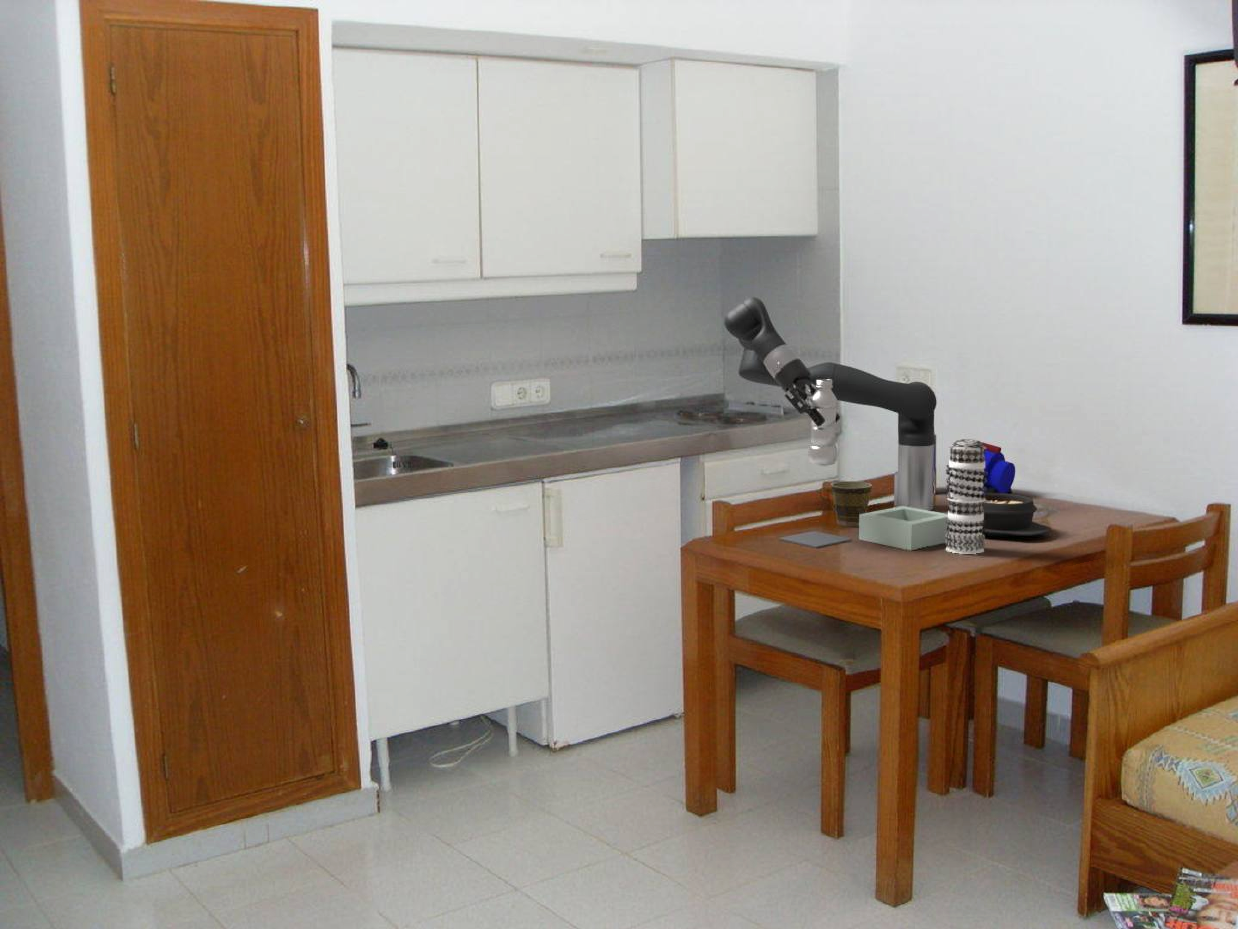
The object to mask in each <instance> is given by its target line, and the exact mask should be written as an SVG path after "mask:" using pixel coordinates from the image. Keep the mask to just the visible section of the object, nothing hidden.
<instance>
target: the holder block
mask: <svg viewBox="0 0 1238 929" xmlns="http://www.w3.org/2000/svg"><path fill="white" fill-rule="evenodd" d="M947 519H948V513H945V512H938V511H932V510H930V511H928V510H922V509H917V508H911V507H905V506H900V507H895V508H894V507H891V508H886V509H880V510H876V511H871V512H867V513H864V514H859V526H858V540H861V541H864V542H870V543H873V544H879V545H884V546H888V547H893V548H898V549H903V550H906V549H907V550H906V551H915V550H919V549H918V548H920V549H923V548H922V547H924V548H927V547H926V546H929V547H932V546H937V545H941V544H946V540H947V538H946V533H948V530H946V526H948V525H949V524H947V523H946V520H947Z"/></svg>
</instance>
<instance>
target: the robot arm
mask: <svg viewBox="0 0 1238 929" xmlns="http://www.w3.org/2000/svg"><path fill="white" fill-rule="evenodd" d="M723 322H724V326H725V328H726V330H727V332H728V333H729V334H730V335H731V336H733V337H734V338H736V339H737V340H738V343H739V344H740V345H741V346H742V347H743V351H742V356H741V360H740V362H739V366H738V375H739V376H740V377H741V378H742V379H745V380H747V381H749V382H753V383H757V384H762V385H769V386H774V387H779V388H781V390H783V392H784V393H785V394H784V397H785V398H786V399H787V401H788V402H789V403H790V404H791V405H792V406H793V407H794V409H796V410H797V412H798V413H799V414H801V415H802V414H804V415H806V416H809V417H810V420H811V419H812V420H813V421H814V423H815V424H816V425H817V426H821V425H822V424H823V423H824V422H825V419H824V418H823V417H822V415H821V414H820V413H819V412H818V410H817V409H814V408H815V407H814V405H813V403H812V399H813V398H812V395H813V394H814V393H815V391H816V390H817V388H815V386H816V380H818V379H830V380H832V386H833V388H831V391H832V392H833V394H834V395H835V397H836V399H837V401H839V402H845V403H850V404H856V405H863V406H870V407H876V408H880V409H881V408H882V409H884V410H888V411H890V412H893V413H897V435H898V438H897V439H898V440H897V442H898V443H897V446H898V447H897V471H895V472H894V483H893V484H894V487H893V488H894V489H893V508H895V507H900V506H905V507H911V508H917V509H922V510H928V511H932V510H934V494H933V486H934V442H935V435H936V434H935V410H936V407H937V396H936V393H935V391H934V390H933V389H932V388H931V387H930V386H929V385H928V384H926V383H924V382H923V381H922V382H921V381H912V382H909V383H905V382H899V381H893V380H887V379H884V378H882V377H879V376H876V375H874V374H872V373H869V372H867V371H864V370H861V369H859V368H856V367H852V366H849V365H845V364H844V365H843V364H840V363H836V362H831V361H829V362H822V363H819V364H818V363H817V364H816V365H812V366H809V367H807V366H806V365H805V364H804V362H803V361H802V360H801V359H800V357H799V356H798V355H797V354H796V352H795V351H794V350H793V349H792V348H791V347H790V346H789V345H787V343H786V341H785V340H784V339H783V338H782V336H780V334H779V332H777V330H776V329H775V327H774V325H773V323H772V321H771V318H770V315H769V312H768V310H767V308H766V305H765V304H764V302H763V301H762V300H761V299H760V298H758V297H755V296H749V297H748V298H746V299H745V300H743V301H742V302H740V303H739V304H738V305H736V306H735V307H734V308H732V309H731V310H730V311H729V312H728V313H726V315H725V317H724V319H723ZM840 419H841V416H840V414H839V413H838V412H837V414H836V422H835V424H837V422H838V421H839V420H840Z"/></svg>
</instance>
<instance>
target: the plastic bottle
mask: <svg viewBox="0 0 1238 929" xmlns="http://www.w3.org/2000/svg"><path fill="white" fill-rule="evenodd" d="M815 388H817V390H816V391H815V393H814V394H813V395H812V398H813V399H812V403H813V405H814V407H815V408H814V409H817V410H818V412H819V413H820V414H821V415H822V417H823V418H824V419H825V422H824V423H823V424H822V425H821V426H817V425H816V424H815V423H814V421H813V420H812V419H811V418H810V425H811V426H810V427H811V430H810V432H811V434H810V444H809V447H808V448H809V449H808V453H807V454H808V460H809V462H810V463H811V465H815V466H818V467H819V466H820V467H827V466H832V465H835V464H836V462H837V460H838V449H837V443H836V441H837V440H836V423H837V422H836V414H837V413H838V405H839V403H838V400H837V399H836V397H835V395H834V394H833V392H832V391H831V388H833V386H832V380H830V379H818V380H816V386H815ZM835 422H836V423H835Z"/></svg>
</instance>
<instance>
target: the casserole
mask: <svg viewBox="0 0 1238 929" xmlns="http://www.w3.org/2000/svg"><path fill="white" fill-rule="evenodd" d="M984 494H985V495H986V496H987V497H986V498H985V499H986V500H985V501H984V502H983V512H984V520H985V525H983V527H984V528H985V531H984V532H982V533H983V534H984V535H986V536H987V537H995V538H1012V537H1019V536H1021V537H1022V536H1024V537H1027V536H1028V537H1029V536H1039V535H1044V534H1047V533H1050V532H1051V531H1052V527H1050V526H1047V525H1044V524H1040V523H1038V522H1035V521H1033V517H1034V513H1035V512H1036V511H1037V510H1038V508H1037V506H1036V505H1035V503H1034V500H1033V498H1031V497H1028V496H1025V495H1020V494H1013V493H1012V494H1006V493H984ZM986 536H985V537H986Z"/></svg>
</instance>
